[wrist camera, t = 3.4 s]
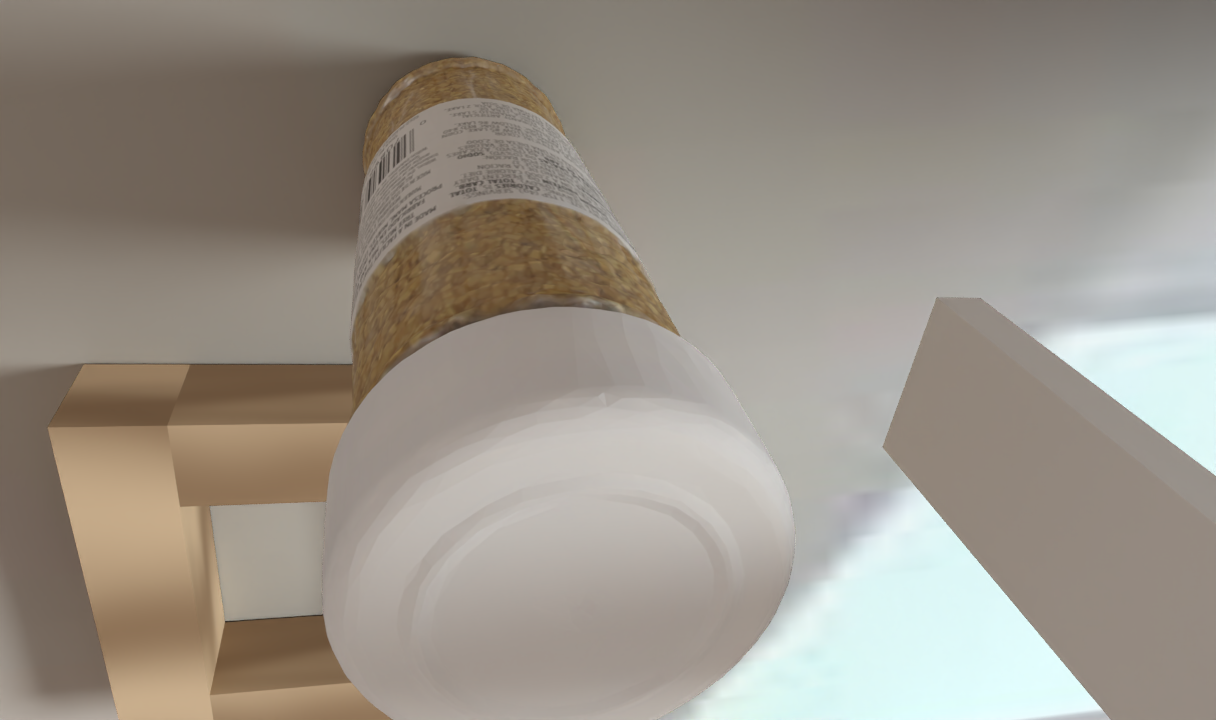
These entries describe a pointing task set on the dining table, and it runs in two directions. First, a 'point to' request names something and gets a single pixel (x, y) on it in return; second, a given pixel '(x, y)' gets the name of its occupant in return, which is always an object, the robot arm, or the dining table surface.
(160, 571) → the socket block
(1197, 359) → the dining table surface
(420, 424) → the sprinkles bottle
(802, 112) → the dining table surface
